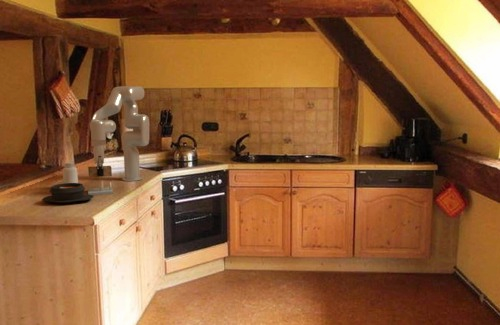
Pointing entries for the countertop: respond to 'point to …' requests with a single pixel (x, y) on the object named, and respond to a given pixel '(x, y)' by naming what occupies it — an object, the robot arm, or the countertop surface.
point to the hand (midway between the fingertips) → (100, 174)
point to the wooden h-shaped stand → (93, 171)
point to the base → (96, 192)
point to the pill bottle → (70, 173)
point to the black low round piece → (67, 193)
